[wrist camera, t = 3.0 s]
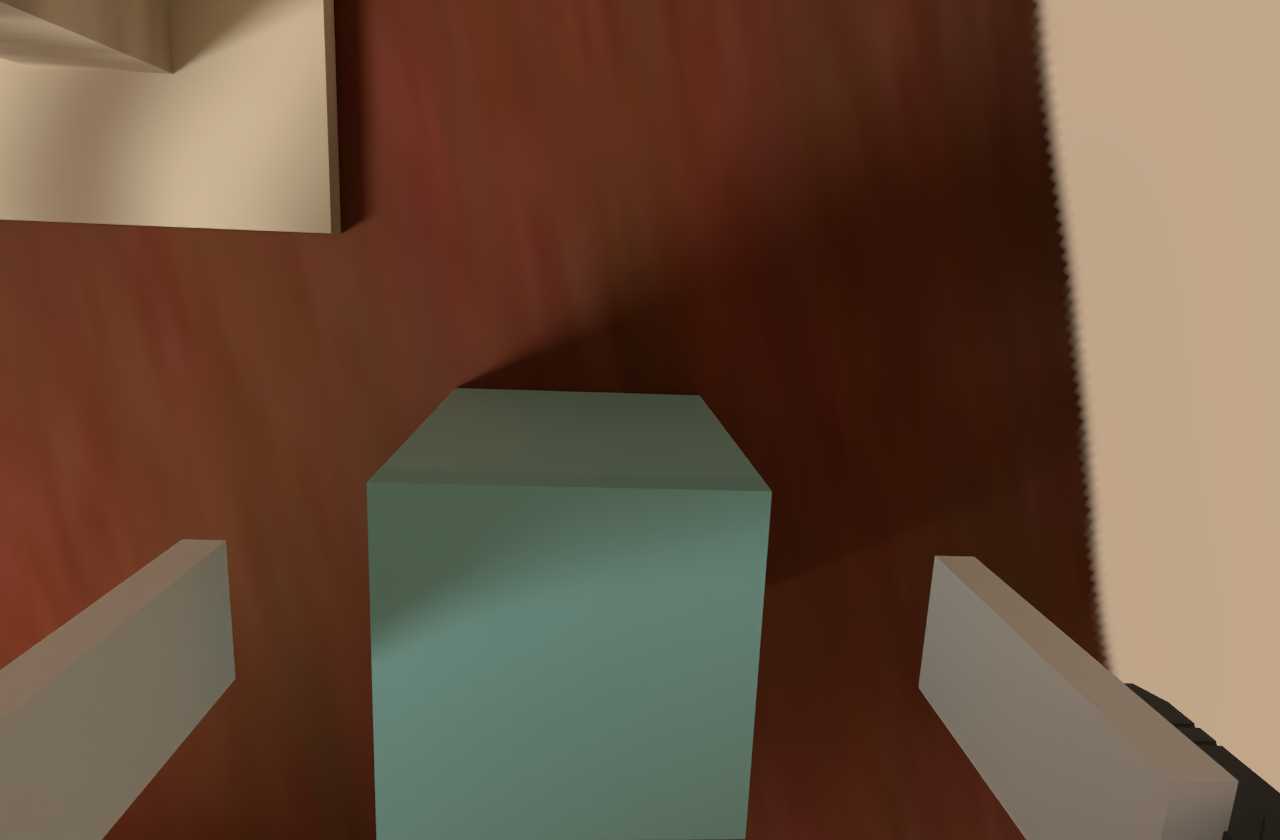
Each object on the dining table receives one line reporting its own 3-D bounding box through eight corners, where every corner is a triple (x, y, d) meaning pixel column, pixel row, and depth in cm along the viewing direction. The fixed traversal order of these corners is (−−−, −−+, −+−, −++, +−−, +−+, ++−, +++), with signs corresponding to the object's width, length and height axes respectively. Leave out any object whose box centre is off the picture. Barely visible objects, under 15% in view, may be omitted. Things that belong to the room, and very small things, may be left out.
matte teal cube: (456, 616, 23) (376, 841, 14) (455, 388, 21) (367, 482, 13) (686, 619, 23) (745, 839, 15) (699, 395, 22) (772, 491, 13)
